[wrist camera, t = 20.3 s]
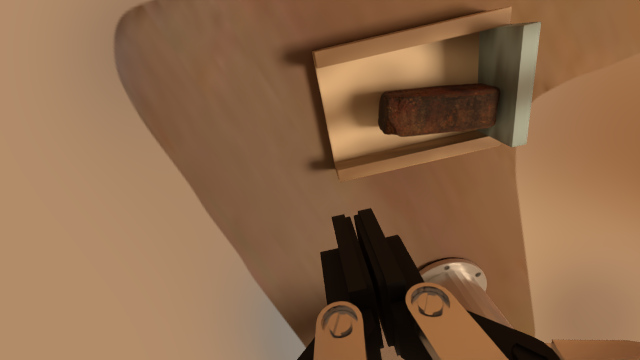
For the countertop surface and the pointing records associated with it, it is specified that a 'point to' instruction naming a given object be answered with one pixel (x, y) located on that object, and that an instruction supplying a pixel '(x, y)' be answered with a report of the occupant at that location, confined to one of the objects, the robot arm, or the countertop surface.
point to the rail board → (419, 72)
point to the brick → (438, 109)
